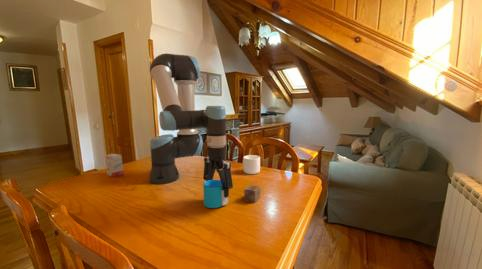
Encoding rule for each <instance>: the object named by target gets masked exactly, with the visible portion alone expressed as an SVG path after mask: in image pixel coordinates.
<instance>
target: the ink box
mask: <svg viewBox="0 0 482 269" xmlns="http://www.w3.org/2000/svg"><path fill="white" fill-rule="evenodd" d="M104 156H105V164H106V173H107V176H110V177H113V178H117V176H118V177H121V176H124V167H123V160H122V159H123V158H122V154H117V153H109V154H105V155H104Z"/></svg>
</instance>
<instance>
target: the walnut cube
mask: <svg viewBox="0 0 482 269" xmlns="http://www.w3.org/2000/svg"><path fill="white" fill-rule="evenodd" d="M243 192H244V193H243V194H244V196H243V197H244V200H243V201H245V202H250V203H255V204H256V203H257V202H258V200H260V198H261V186H258V185H253V184H249V185H247V186H246V187H245V188H244V189H243Z"/></svg>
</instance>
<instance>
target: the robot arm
mask: <svg viewBox="0 0 482 269" xmlns="http://www.w3.org/2000/svg"><path fill="white" fill-rule="evenodd" d="M149 74H150V77H151V79H152V80H153V81H154V84H155V88H156V92H157V95H158V98H159V102H160V106H161V109H162V111H159V114H158V119H159V120H158V121H159V126H160V129H161V130H162V131H172V132H173V131H177V132H176V136H175V135H173V134H162V135H158V136H155V137H152V138H151V139H150V140H149V141H150V142H149V146H150V147H149V150H150V161H151V168H150V171H149V175H148V181H149V183H151V184H155V185H156V184H157V185H163V184H170V183H173V182H176V181H177V180H179V178H180V173H179V170H178V166H177V164H176V159H181V158H188V157H191V158H192V157H194V156H199V155H200V154H201V152H202V150H203V146H204V144H203V143H204V142H203V137H202V135H201V134H199V131H198V130H197V129H205V130H206V131H205V132H206V134H205V135H206V145H207V147H206V156H207V157H206V156H205V157H203V162H204V163H203V164H204V165H203V175H202V176H203V178H202V179H203V181H205V182H206V181H208V180H214V176H215V172H216V173H218V177H219V180H221V184H222V187H223V189H222V206H225V205H227V204H229V196H230V195H229V194H230V192H229V191H230V190H231V189H233V187H234V186H233V178H232V170H231V169H232V168H231V167H232V163H231V162H230V161H229V162H227V161H226V158H225V157H226V155H227V146H226V145H227V115H226V114H227V113H226V107H225V106H224V105H207V106H206V107H205V109H199V110H195V108H196V106H195V85H196V84H197V82H198V81H197V80H199V79H200V77H201V65H200V63H199V60H198V59H197V58H196V57H195V56H191V55H186V54H185V55H184V54H176V53H174V54H173V53H166V52H165V53H162V54H158V55H157V56H156V57H154V58H153V60H152V61H151V63H150V65H149ZM174 83H175V84H176V86H177V89H176V88H175V85H174ZM225 185H226V186H225Z"/></svg>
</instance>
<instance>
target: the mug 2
mask: <svg viewBox="0 0 482 269" xmlns="http://www.w3.org/2000/svg"><path fill="white" fill-rule="evenodd" d="M242 166H243V169H242V170H243V172H244V173H245V174H247V175H255V174H259V173H260V171H261V156H259V155H256V154H254V155H253V154H247V155H244V156H243V159H242Z"/></svg>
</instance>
